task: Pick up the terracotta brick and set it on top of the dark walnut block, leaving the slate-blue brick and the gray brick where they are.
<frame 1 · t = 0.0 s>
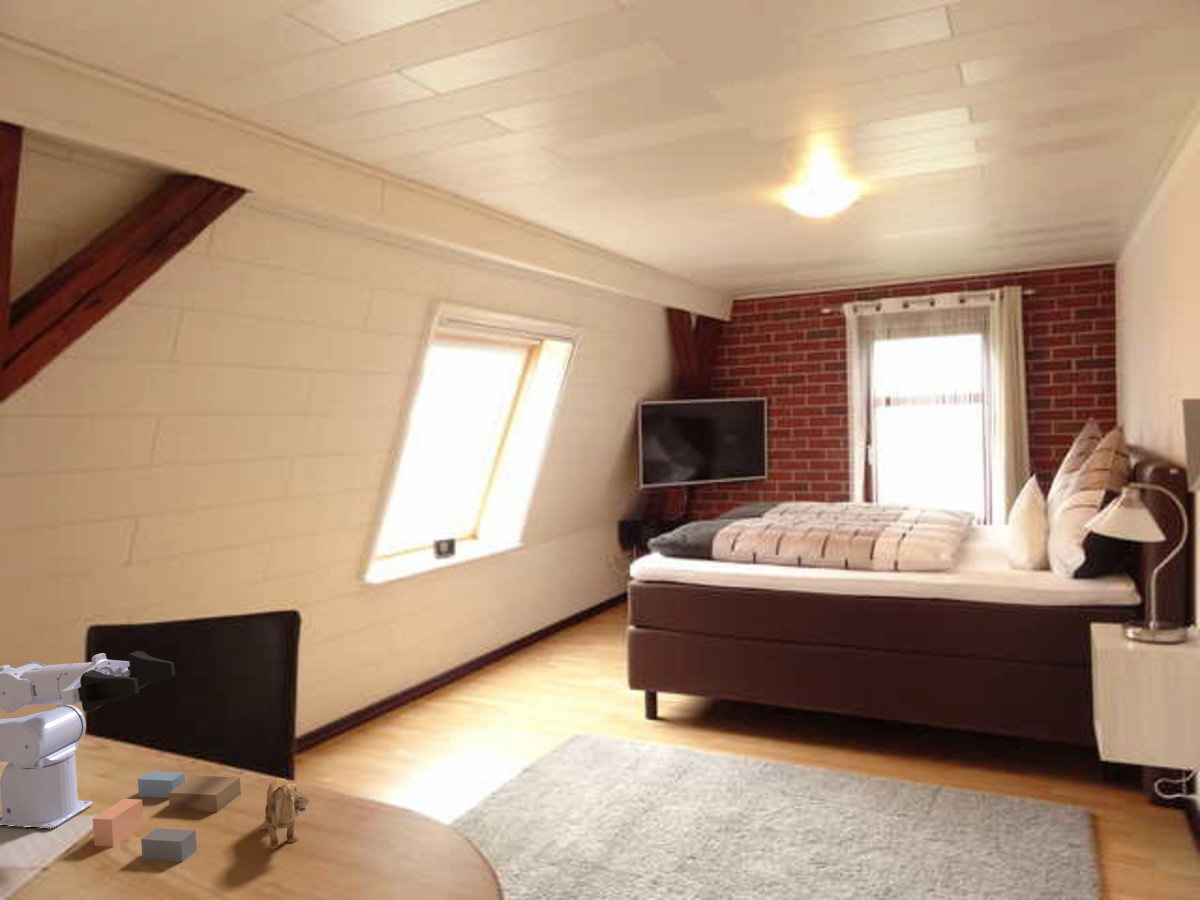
hand: (155, 677, 123), 22 cm above the table, tool horizontal, fingers open, 7 cm apart
gray brick: (169, 856, 115), on the table
slate-blue brick: (162, 794, 134), on the table
lion figurine: (285, 835, 120), on the table
terracotta brick: (119, 836, 121), on the table
walnut block: (205, 803, 131), on the table
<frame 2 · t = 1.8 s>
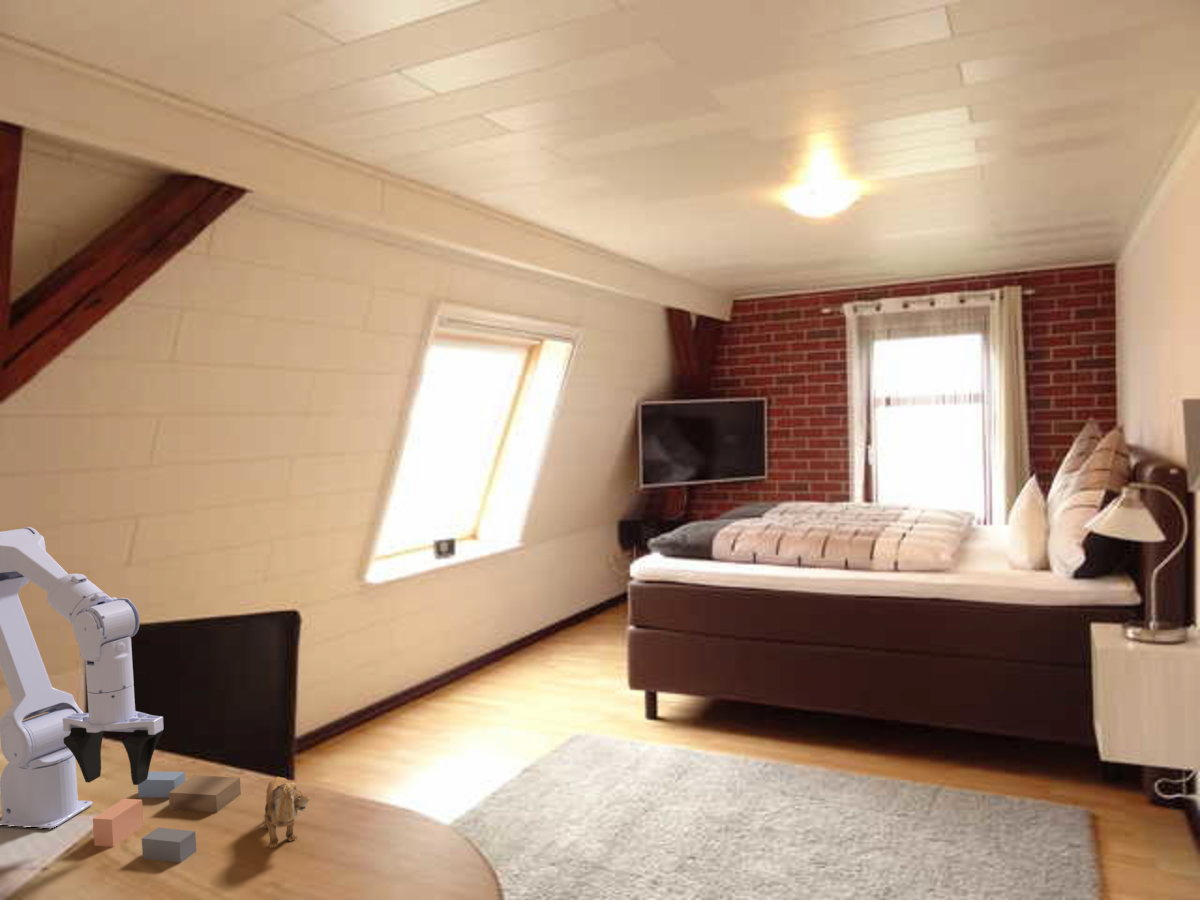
hand: (116, 780, 120), 8 cm above the table, tool pointing down, fingers open, 7 cm apart
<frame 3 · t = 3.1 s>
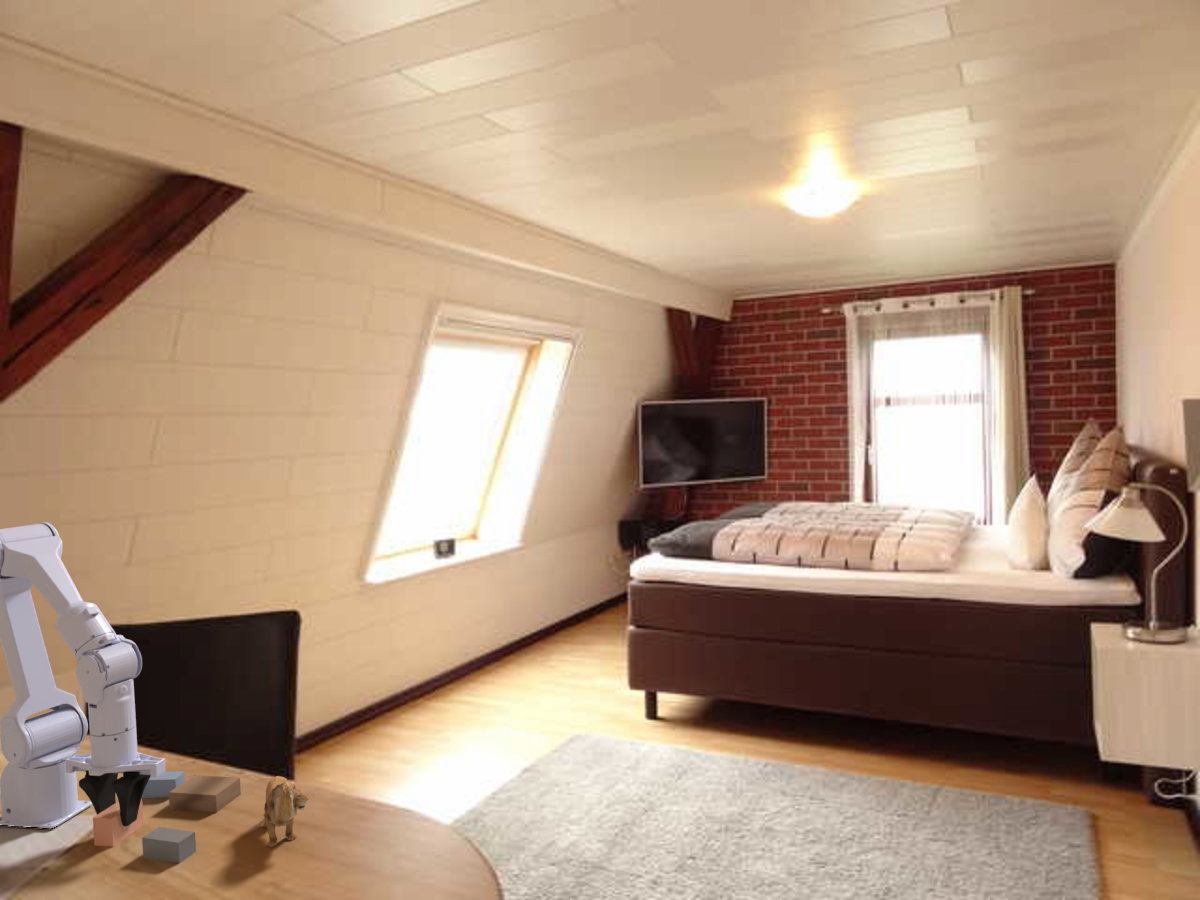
hand: (118, 822, 121), 2 cm above the table, tool pointing down, fingers closed on terracotta brick, 3 cm apart
terracotta brick: (119, 835, 121), on the table, touching gripper
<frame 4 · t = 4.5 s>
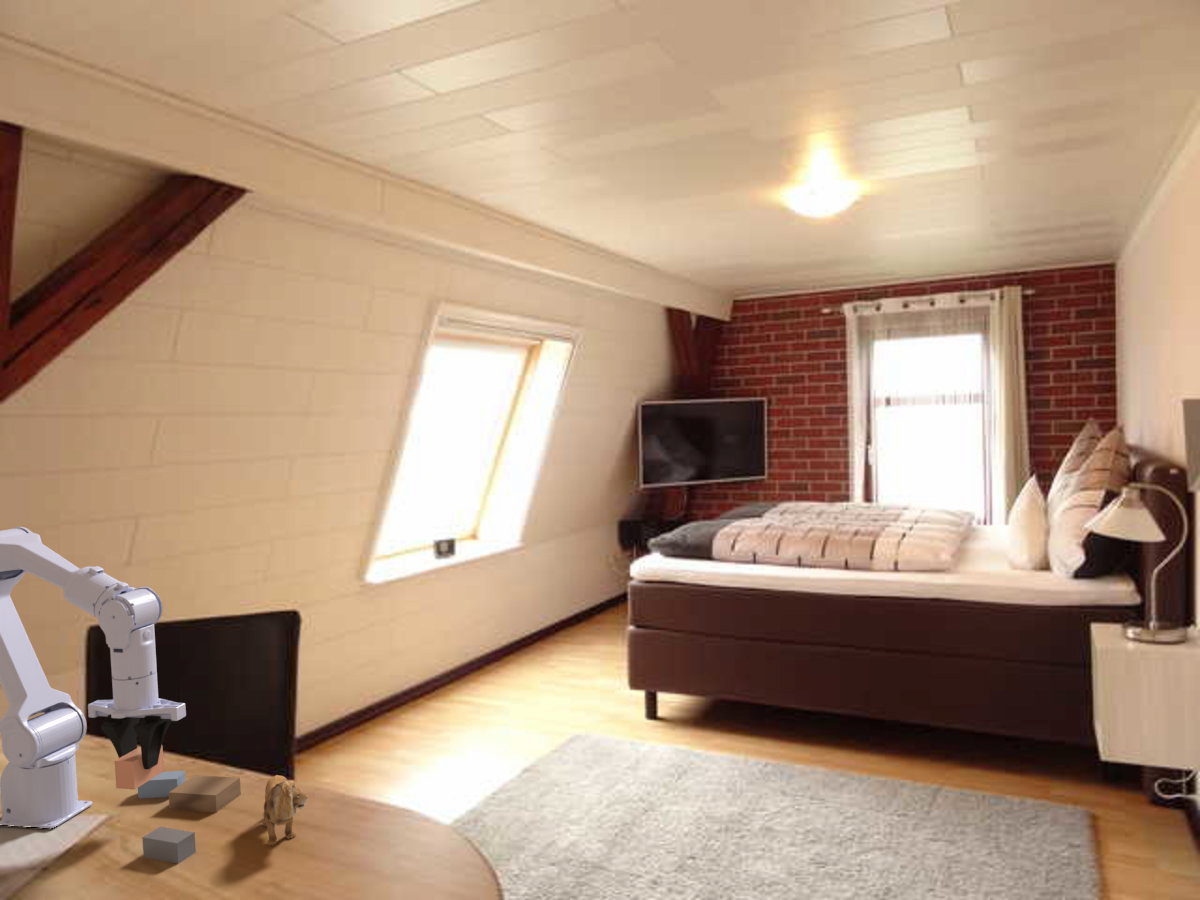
hand: (140, 765, 123), 9 cm above the table, tool pointing down, fingers closed on terracotta brick, 3 cm apart
terracotta brick: (140, 779, 123), point 7 cm above the table, touching gripper
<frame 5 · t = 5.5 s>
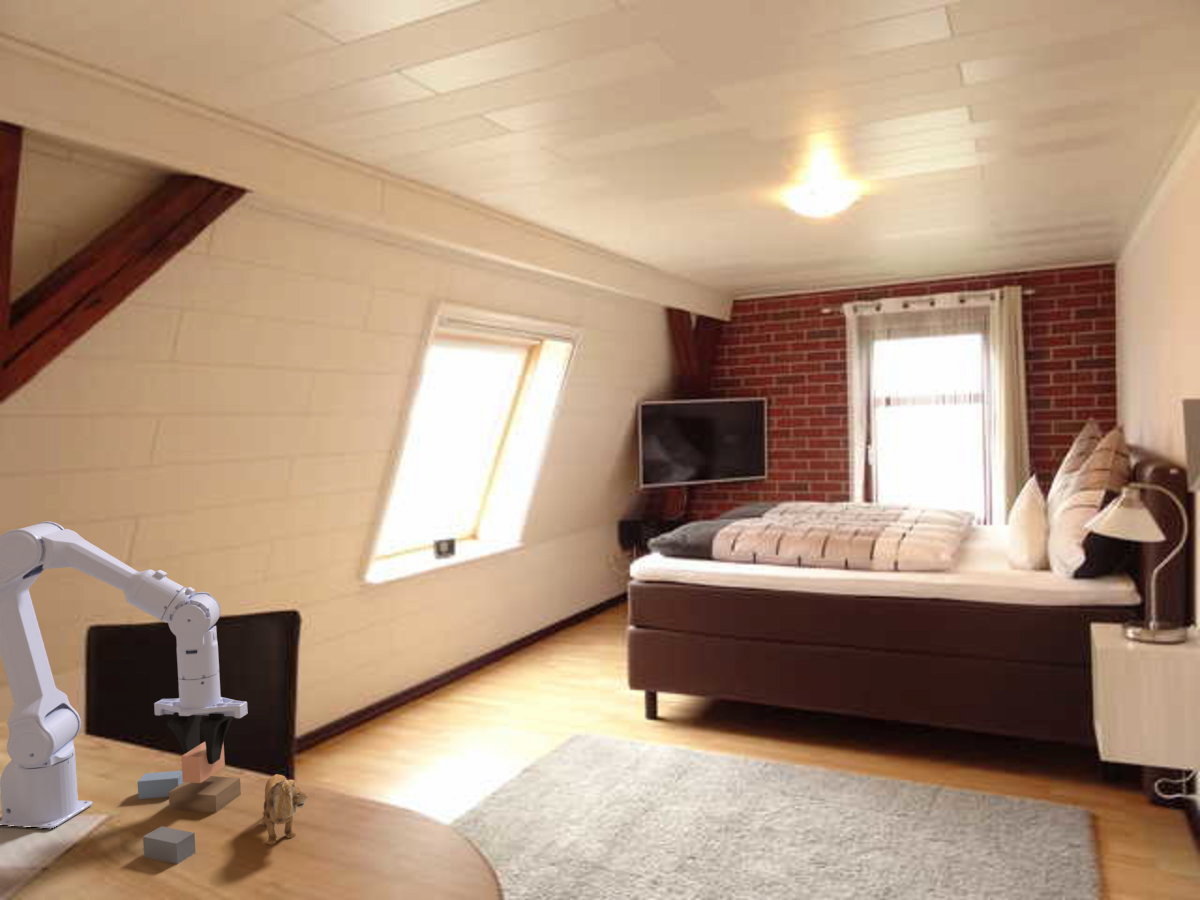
hand: (203, 760, 130), 6 cm above the table, tool pointing down, fingers closed on terracotta brick, 3 cm apart
terracotta brick: (204, 774, 130), point 4 cm above the table, touching gripper
when the fingers open (6 cm above the table, at t = 5.9 s): terracotta brick drops 1 cm, point 3 cm above the table.
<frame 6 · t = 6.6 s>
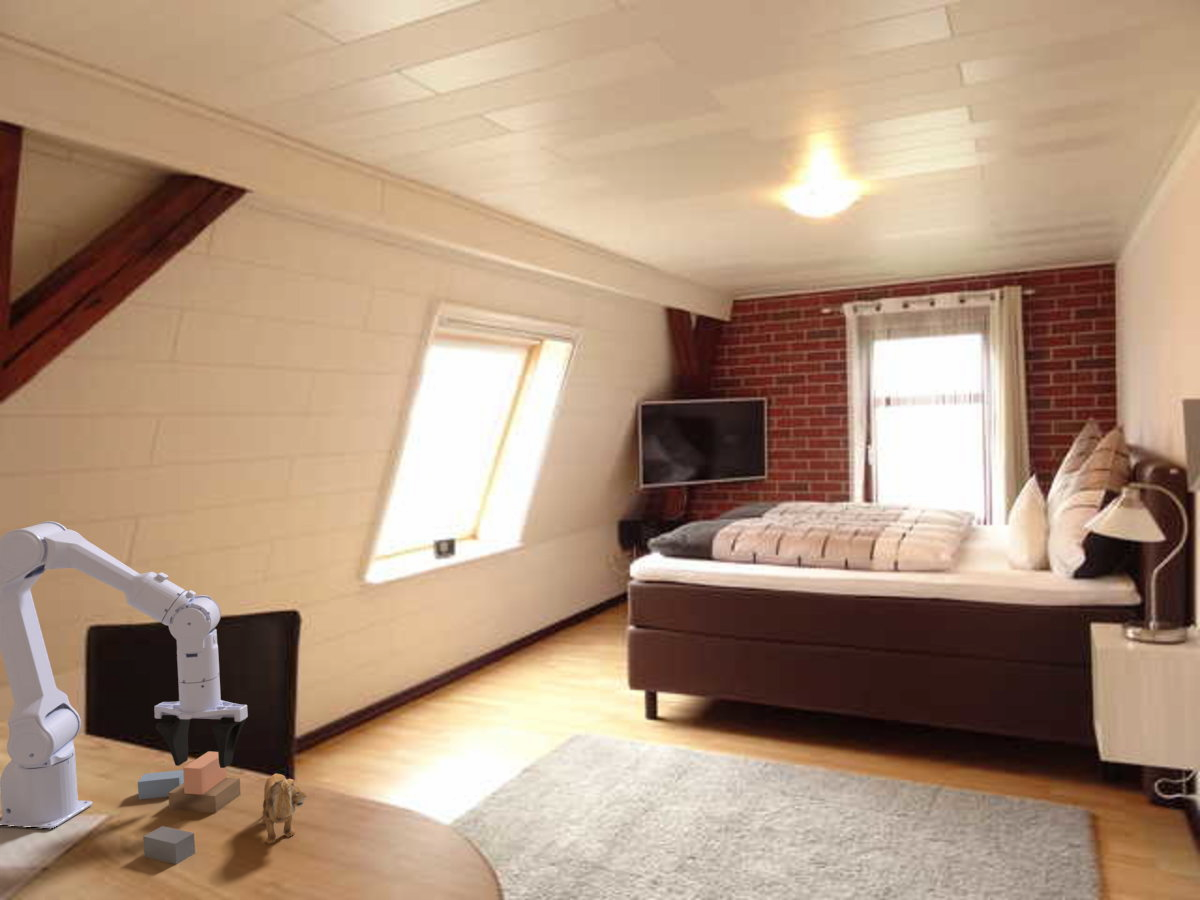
hand: (203, 764, 130), 6 cm above the table, tool pointing down, fingers open, 7 cm apart
terracotta brick: (206, 785, 130), point 3 cm above the table
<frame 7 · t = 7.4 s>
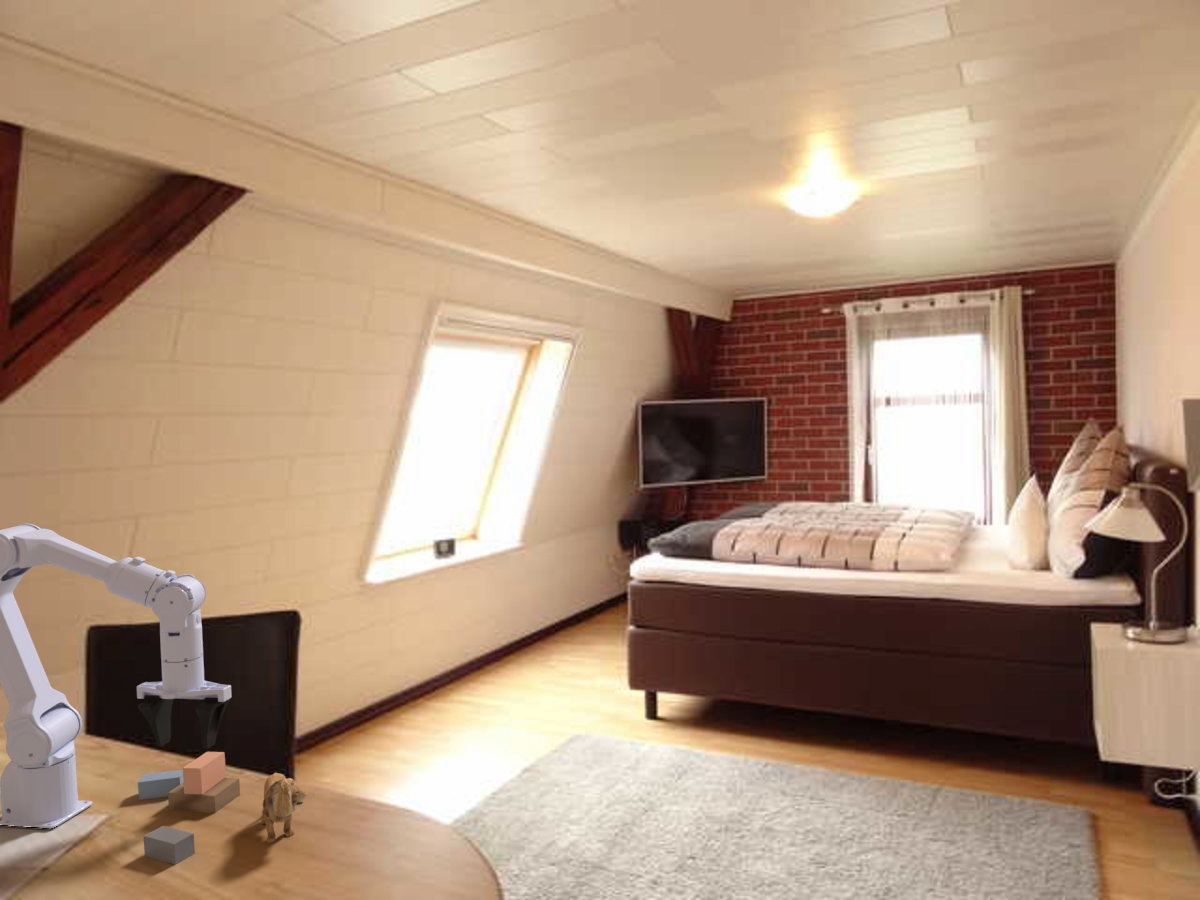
hand: (186, 745, 129), 10 cm above the table, tool pointing down, fingers open, 7 cm apart
terracotta brick: (205, 785, 130), point 3 cm above the table, touching walnut block
walnut block: (205, 804, 131), on the table, touching terracotta brick
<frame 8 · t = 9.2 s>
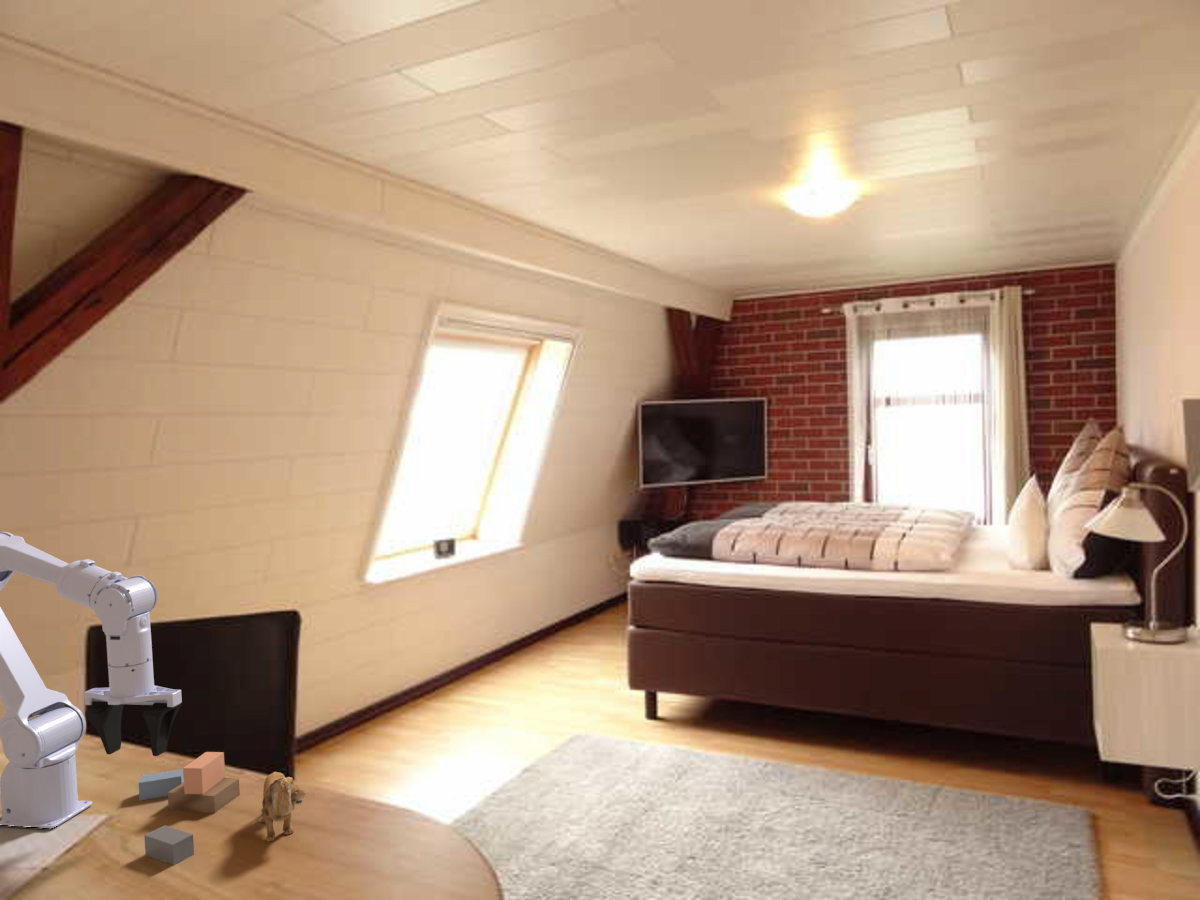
hand: (136, 752, 124), 10 cm above the table, tool pointing down, fingers open, 7 cm apart
at the end: terracotta brick 0.2 cm off-centre on the walnut block, point 3.0 cm above the walnut block's base; slate-blue brick moved 0.2 cm from its start; gray brick moved 0.2 cm from its start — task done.
